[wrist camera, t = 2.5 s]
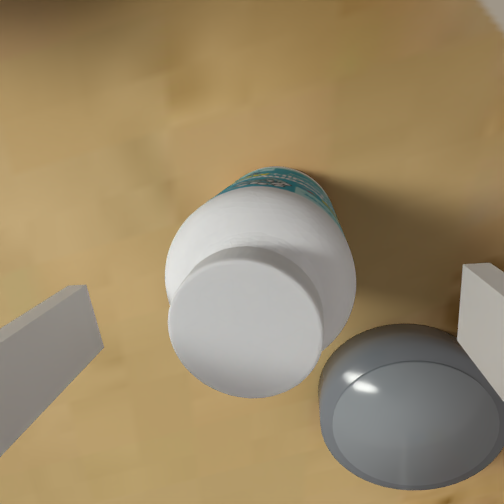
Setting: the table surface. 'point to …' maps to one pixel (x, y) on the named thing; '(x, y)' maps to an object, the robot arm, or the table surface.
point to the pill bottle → (259, 284)
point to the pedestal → (409, 409)
